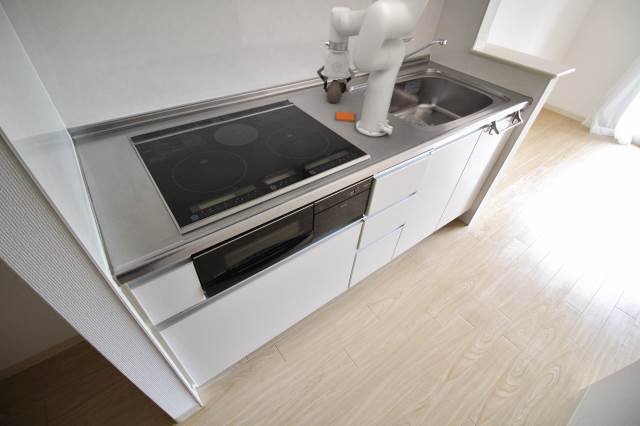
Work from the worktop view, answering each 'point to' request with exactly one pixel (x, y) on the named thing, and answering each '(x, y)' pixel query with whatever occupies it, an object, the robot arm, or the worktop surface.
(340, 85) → the walnut block
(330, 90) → the vase
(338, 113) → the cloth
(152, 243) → the worktop surface
